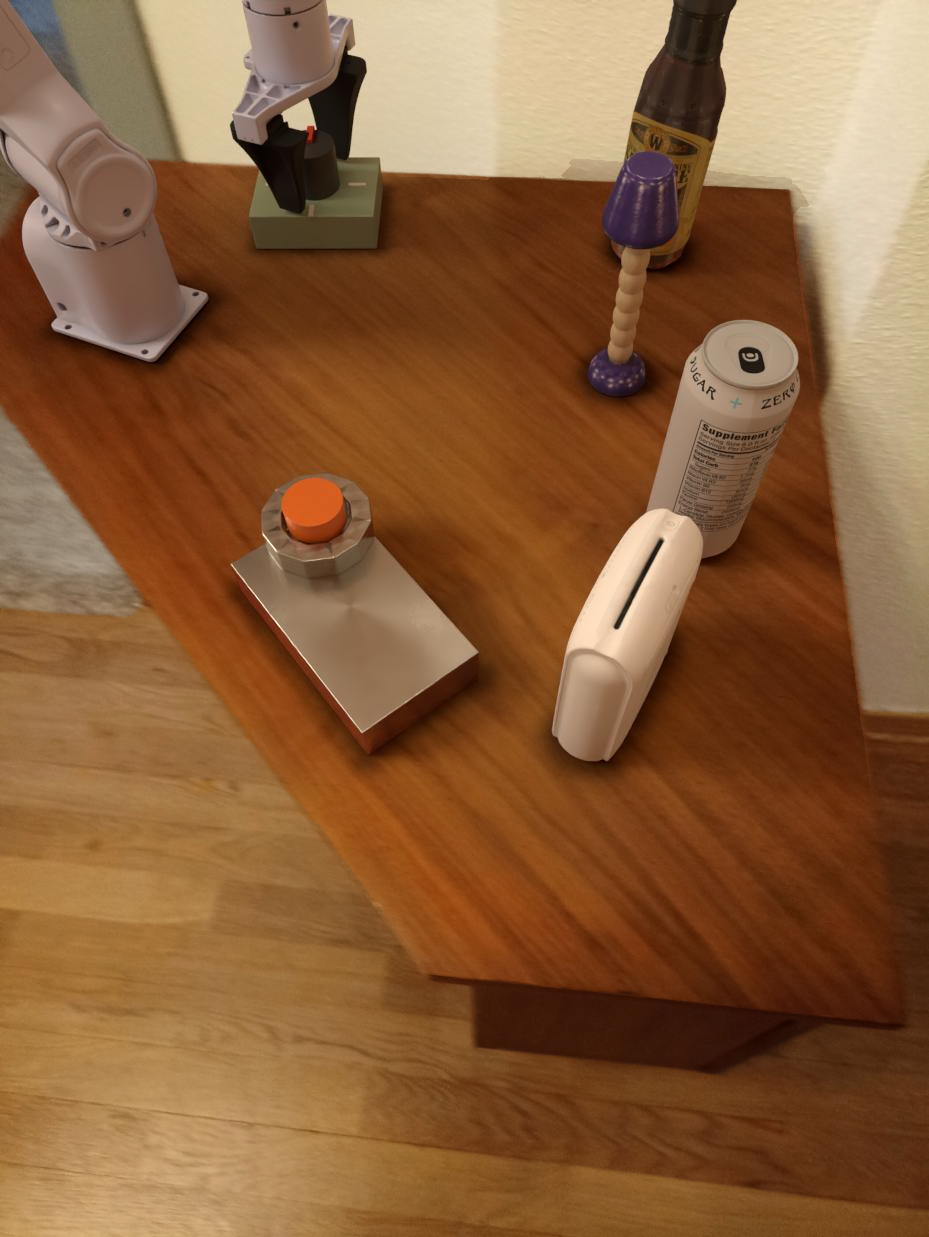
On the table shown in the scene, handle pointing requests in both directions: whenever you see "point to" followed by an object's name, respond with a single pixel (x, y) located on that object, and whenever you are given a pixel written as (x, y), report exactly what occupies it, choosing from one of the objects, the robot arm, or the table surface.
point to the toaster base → (355, 621)
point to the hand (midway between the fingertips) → (315, 181)
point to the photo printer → (625, 633)
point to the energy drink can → (726, 427)
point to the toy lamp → (634, 261)
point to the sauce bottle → (683, 108)
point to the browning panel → (324, 212)
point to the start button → (314, 510)
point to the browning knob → (320, 165)
